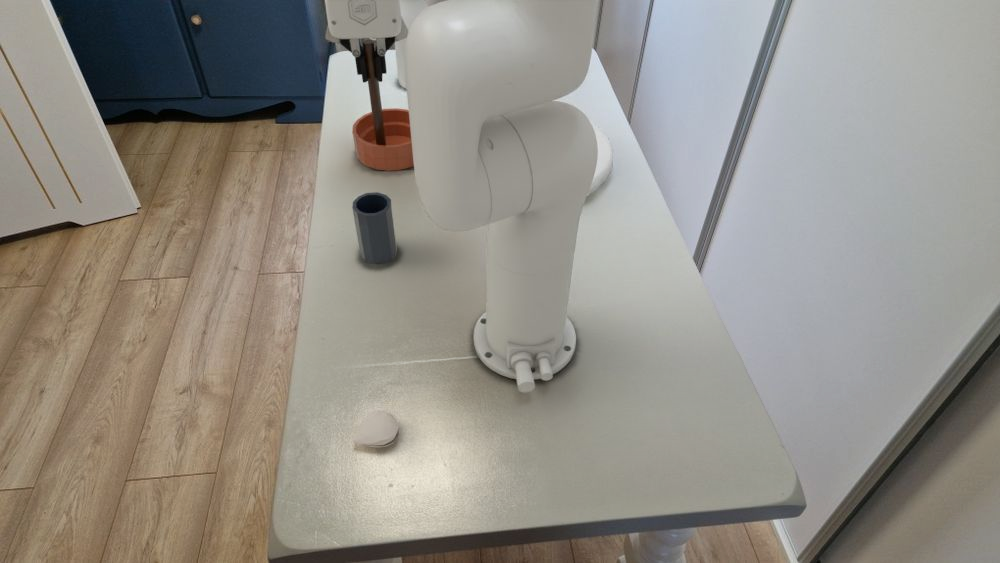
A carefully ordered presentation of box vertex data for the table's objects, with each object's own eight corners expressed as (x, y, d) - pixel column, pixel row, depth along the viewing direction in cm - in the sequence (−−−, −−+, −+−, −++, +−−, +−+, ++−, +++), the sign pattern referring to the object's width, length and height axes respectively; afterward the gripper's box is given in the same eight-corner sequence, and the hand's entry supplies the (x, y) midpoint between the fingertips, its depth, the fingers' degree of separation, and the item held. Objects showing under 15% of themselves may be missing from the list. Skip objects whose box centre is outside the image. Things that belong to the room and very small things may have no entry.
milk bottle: (395, 91, 127) (384, -16, 113) (401, 72, 133) (391, -32, 119) (435, 92, 127) (429, -15, 113) (439, 73, 132) (434, -31, 119)
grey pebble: (405, 442, 71) (403, 429, 69) (361, 463, 69) (358, 450, 67) (389, 413, 73) (387, 400, 72) (347, 432, 71) (343, 419, 70)
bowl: (430, 171, 108) (429, 145, 104) (355, 175, 106) (350, 149, 103) (427, 132, 116) (426, 106, 113) (357, 135, 115) (354, 110, 112)
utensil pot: (397, 265, 91) (391, 214, 85) (360, 268, 90) (351, 216, 84) (397, 242, 95) (391, 191, 88) (362, 244, 94) (353, 193, 88)
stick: (386, 150, 108) (373, 44, 95) (376, 151, 108) (362, 44, 95) (386, 145, 109) (373, 39, 96) (376, 146, 109) (362, 39, 96)
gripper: (292, -42, 84) (318, 92, 96) (416, -45, 85) (425, 87, 98) (298, -60, 89) (322, 69, 102) (414, -63, 90) (423, 64, 103)
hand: (372, 77), depth 100 cm, fingers closed on stick, 1 cm apart
